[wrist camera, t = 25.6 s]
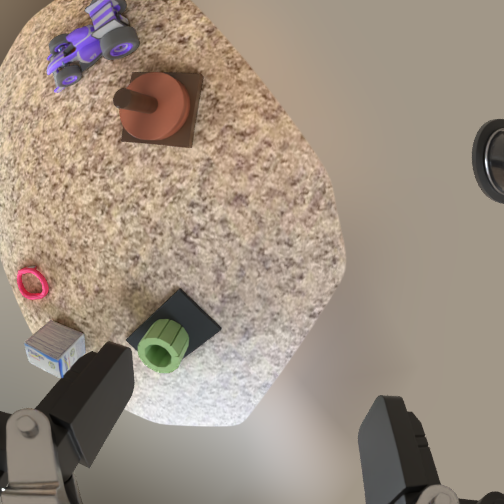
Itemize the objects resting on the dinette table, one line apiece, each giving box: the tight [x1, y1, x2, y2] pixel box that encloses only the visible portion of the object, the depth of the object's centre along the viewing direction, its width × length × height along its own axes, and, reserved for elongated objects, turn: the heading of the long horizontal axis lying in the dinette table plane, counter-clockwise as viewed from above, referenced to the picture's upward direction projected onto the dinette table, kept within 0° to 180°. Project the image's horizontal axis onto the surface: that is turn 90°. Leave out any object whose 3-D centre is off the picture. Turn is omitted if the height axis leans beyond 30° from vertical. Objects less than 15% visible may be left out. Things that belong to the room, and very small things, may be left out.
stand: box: [113, 72, 204, 148], centre depth 30 cm, size 9×9×10 cm
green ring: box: [138, 319, 189, 373], centre depth 42 cm, size 6×6×5 cm
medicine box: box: [24, 320, 86, 378], centre depth 44 cm, size 8×4×9 cm, turn 78°
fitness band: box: [17, 266, 49, 299], centre depth 44 cm, size 8×6×2 cm
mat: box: [126, 289, 221, 359], centre depth 44 cm, size 14×8×1 cm, turn 134°
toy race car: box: [47, 0, 140, 92], centre depth 29 cm, size 10×15×6 cm, turn 111°
